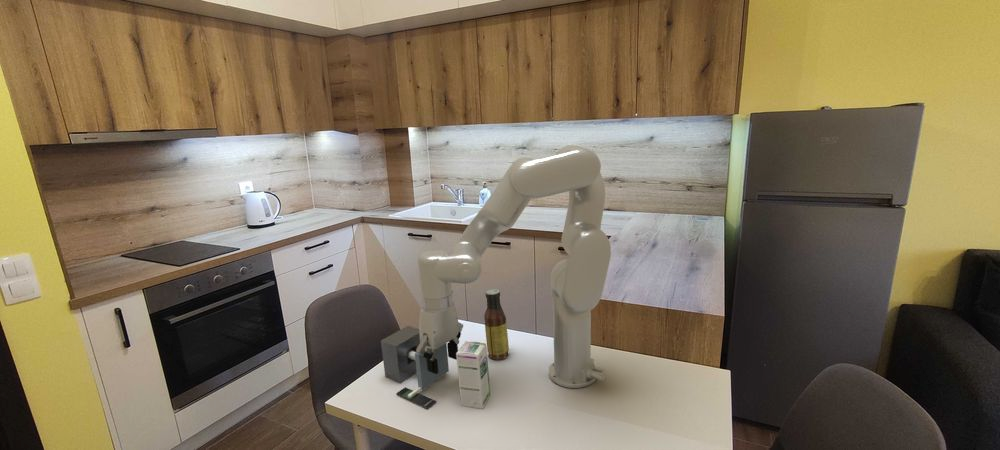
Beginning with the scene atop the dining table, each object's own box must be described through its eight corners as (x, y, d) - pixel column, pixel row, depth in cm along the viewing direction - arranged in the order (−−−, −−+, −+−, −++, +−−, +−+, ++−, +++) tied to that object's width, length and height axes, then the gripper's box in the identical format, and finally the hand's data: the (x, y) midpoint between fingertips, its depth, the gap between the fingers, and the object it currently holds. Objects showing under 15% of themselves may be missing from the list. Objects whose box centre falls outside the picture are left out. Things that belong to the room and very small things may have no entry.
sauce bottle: (513, 352, 130) (509, 289, 126) (501, 363, 125) (498, 297, 120) (494, 347, 134) (490, 285, 129) (482, 357, 129) (478, 293, 124)
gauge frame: (464, 380, 118) (462, 343, 115) (427, 409, 107) (423, 368, 104) (412, 360, 129) (408, 325, 127) (373, 384, 118) (368, 347, 116)
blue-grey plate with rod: (448, 371, 121) (445, 337, 118) (411, 398, 110) (406, 362, 107) (411, 356, 129) (407, 325, 127) (372, 380, 118) (367, 346, 116)
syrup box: (482, 409, 106) (479, 354, 102) (460, 405, 108) (455, 351, 104) (490, 395, 111) (487, 342, 108) (468, 392, 113) (464, 340, 109)
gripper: (449, 286, 118) (454, 346, 123) (400, 310, 105) (408, 377, 109) (471, 291, 114) (476, 353, 118) (422, 317, 100) (430, 386, 105)
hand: (443, 364), depth 114 cm, fingers open, 7 cm apart
